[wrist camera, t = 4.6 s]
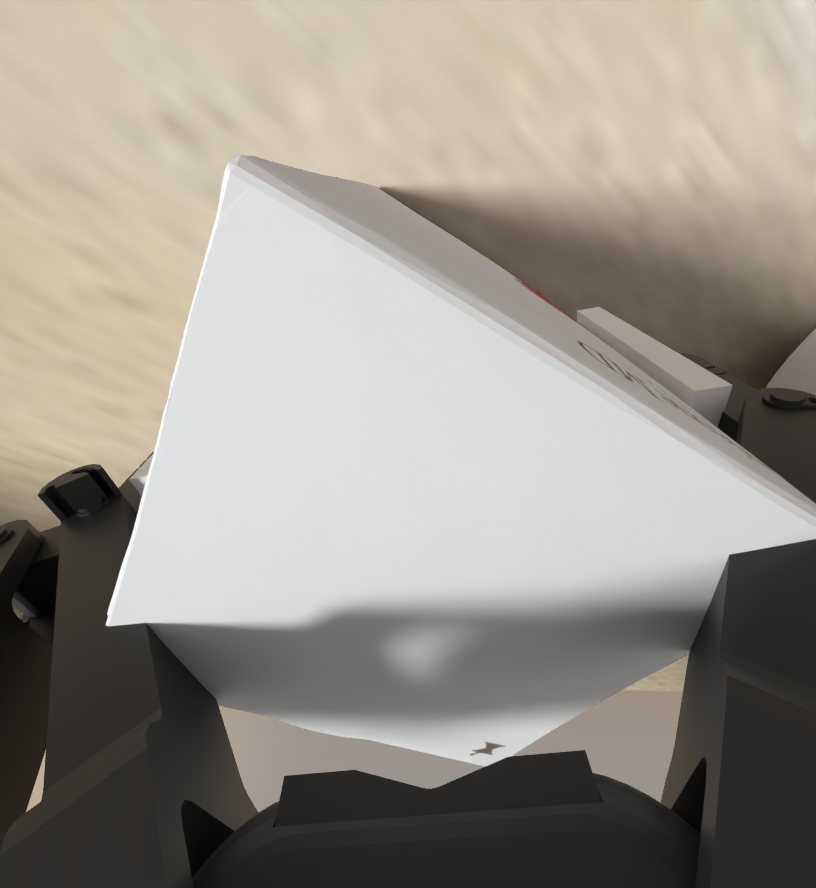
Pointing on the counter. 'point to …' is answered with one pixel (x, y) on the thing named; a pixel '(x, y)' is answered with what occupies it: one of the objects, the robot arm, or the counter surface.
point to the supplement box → (420, 486)
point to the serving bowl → (798, 368)
